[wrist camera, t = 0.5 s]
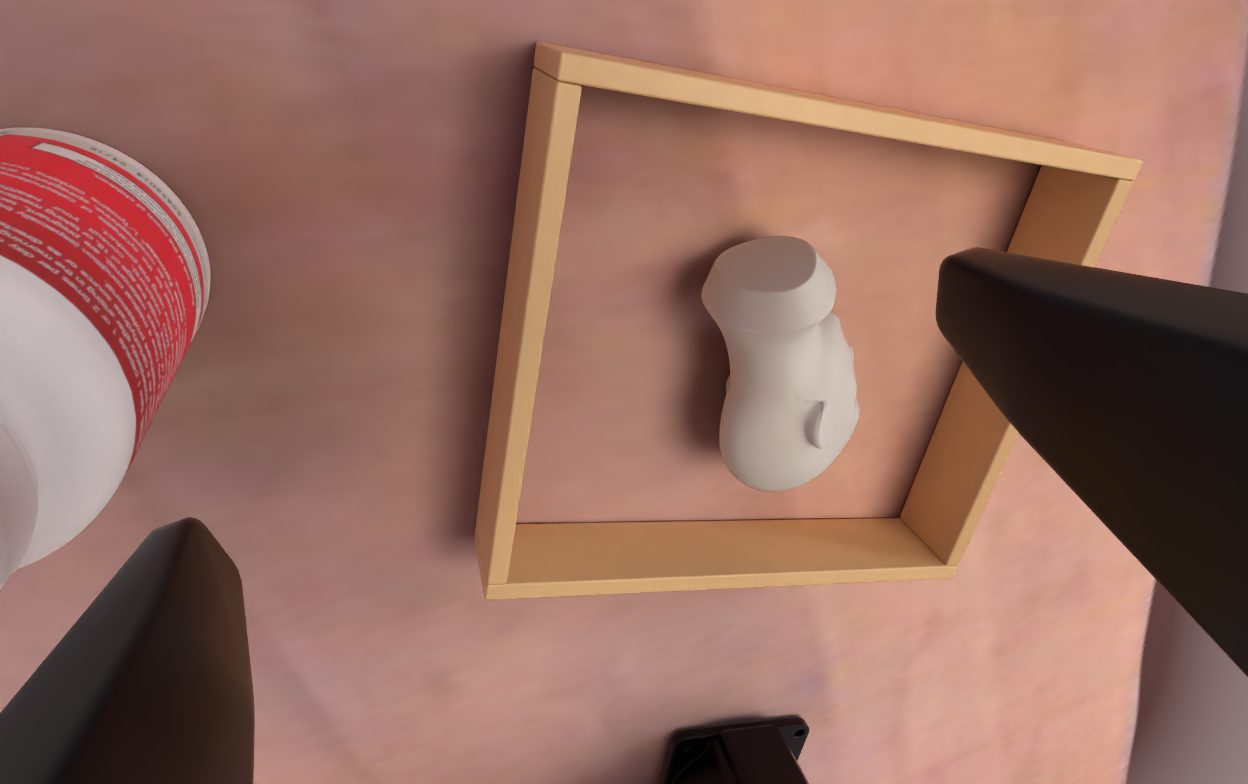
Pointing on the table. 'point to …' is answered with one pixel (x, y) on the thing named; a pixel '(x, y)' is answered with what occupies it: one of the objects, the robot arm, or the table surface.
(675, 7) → the table surface
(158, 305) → the pill bottle
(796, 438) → the pale two-lobed sculpture
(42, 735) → the robot arm
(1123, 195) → the wooden frame
